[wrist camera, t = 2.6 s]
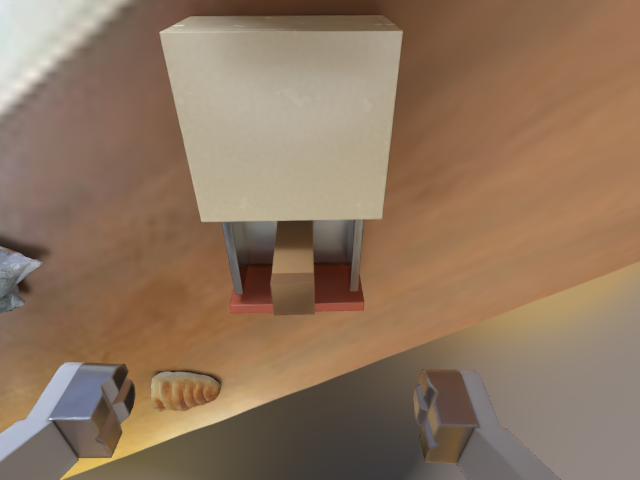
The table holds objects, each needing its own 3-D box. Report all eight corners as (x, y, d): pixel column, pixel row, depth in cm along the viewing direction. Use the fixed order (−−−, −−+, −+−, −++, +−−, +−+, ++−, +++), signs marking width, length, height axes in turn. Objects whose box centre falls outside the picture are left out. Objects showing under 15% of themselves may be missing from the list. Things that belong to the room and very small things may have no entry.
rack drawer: (356, 280, 44) (362, 318, 40) (240, 283, 44) (232, 321, 39) (365, 172, 36) (373, 205, 31) (222, 175, 36) (209, 207, 31)
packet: (277, 216, 37) (270, 283, 30) (312, 215, 37) (314, 282, 30) (279, 246, 39) (273, 315, 32) (313, 245, 40) (314, 314, 32)
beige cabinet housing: (369, 176, 37) (381, 219, 31) (218, 178, 37) (201, 222, 31) (383, 14, 29) (403, 30, 23) (190, 16, 29) (158, 32, 23)
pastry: (216, 367, 55) (211, 391, 52) (225, 393, 59) (221, 417, 56) (151, 370, 55) (141, 395, 52) (164, 396, 59) (156, 420, 56)
